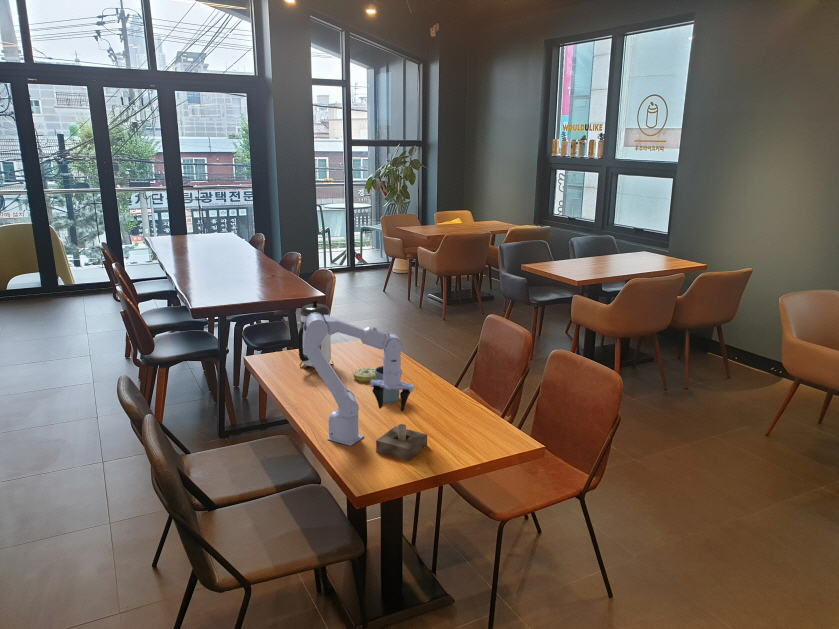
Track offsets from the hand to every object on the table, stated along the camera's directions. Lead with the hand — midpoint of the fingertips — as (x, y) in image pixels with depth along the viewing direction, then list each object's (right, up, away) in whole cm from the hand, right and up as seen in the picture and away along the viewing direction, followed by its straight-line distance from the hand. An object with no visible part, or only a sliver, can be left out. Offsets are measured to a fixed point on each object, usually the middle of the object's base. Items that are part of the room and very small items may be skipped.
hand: (391, 408), depth 210 cm
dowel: (+4, -12, -7) cm, 14 cm away
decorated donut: (-13, +4, +53) cm, 55 cm away
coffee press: (-36, +8, +66) cm, 76 cm away
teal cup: (-3, -1, +32) cm, 33 cm away
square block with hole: (+4, -12, -7) cm, 14 cm away
